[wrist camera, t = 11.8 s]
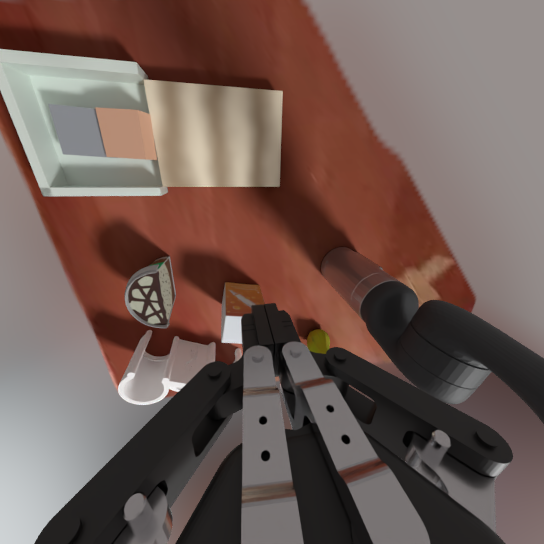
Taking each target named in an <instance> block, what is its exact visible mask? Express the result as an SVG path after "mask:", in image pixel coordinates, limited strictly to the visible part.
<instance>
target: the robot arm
mask: <svg viewBox="0 0 544 544" xmlns="http://www.w3.org/2000/svg"><path fill="white" fill-rule="evenodd" d="M321 272H322V275H323V276H324V278H325V279H326V280H327V281H328V282H329V283H330V284H331V286H332V287H333V288H334V289H335V290H336V291H337V292H338V293H339V294H340V295H341V297H342V298H343V299H344V300H345V301H346V302H347V303H348V304H349V305H350V306H351V308H352V309H353V310H354V311H355V312H356V313H357V314H358V315H359V316H360V317H361V319H362V320H363V321H364V322H365V323H366V326H367V329H368V331H369V332H370V334H371V335H372V336H373V337H374V339H375V340H376V341H377V342H378V344H379V345H380V346H381V348H382V349H383V350H384V351H385V353H386V354H387V355H388V357H389V358H390V359H391V361H392V362H393V363H394V364H395V365H396V367H397V368H398V369H399V370H400V371H401V372H402V373H403V375H404V376H405V377H406V378H407V379H409V381H411V382H412V383H413V384H414V385H415V386H417V388H416V387H414V386H412V385H411V384H409V383H407V382H405V381H403V380H401V379H399V378H398V377H396V376H394V375H392V374H390V373H388V372H386V371H384V370H382V369H381V368H379V367H377V366H375V365H373V364H371V363H369V362H368V361H366V360H364V359H362V358H360V357H358V356H356V355H355V354H353V353H351V352H349V351H347V350H345V349H343V348H339V347H334V348H330V349H329V350H327V352H326V354H322V353H315V352H312V351H309V349H308V348H307V347H306V346H305V345H304V344H302V343H301V341H300V339H299V337H298V334H297V332H296V330H295V327H294V325H293V322H292V320H291V318H290V315H289V314H288V313H287V312H285V311H284V310H282V311H278V309H277V306H276V304H275V303H271V304H264V305H263V304H259V305H252V306H251V313H248V314H244V315H243V316H242V318H241V333H242V347H243V355H242V357H241V358H240V359H239V360H238V361H236V362H235V363H233V364H230V365H227V364H226V363H224V362H220V361H215V362H211V363H209V364H207V365H205V366H204V367H203V368H202V369H201V370H200V371H199V372H198V373H197V374H196V375H195V376H194V377H193V378H192V379H191V380H190V381H189V382H188V383H187V384H186V385H185V386H184V387H183V388H182V389H181V390H180V391H179V392H178V393H177V394H176V395H175V396H174V397H173V398H172V399H171V400H170V401H169V402H168V403H167V404H166V405H165V406H164V407H163V408H162V409H161V410H160V411H159V412H158V413H157V414H156V415H155V416H154V417H153V418H152V419H151V420H150V421H149V422H148V423H147V424H146V425H145V426H144V427H143V428H142V429H141V430H140V431H139V432H138V433H137V434H136V435H135V436H134V437H133V438H132V439H131V440H130V441H129V442H128V443H127V444H126V445H125V446H124V447H123V448H122V449H121V450H120V451H119V452H118V453H117V454H116V455H115V456H114V457H113V458H112V459H111V460H110V461H109V462H108V463H107V464H106V465H105V466H104V467H103V468H102V469H101V470H100V471H99V472H98V473H97V474H96V475H95V476H94V477H93V478H92V479H91V480H90V481H89V482H88V483H87V484H86V485H85V486H84V487H83V488H82V489H81V490H80V491H79V492H78V493H77V494H76V495H75V496H74V497H73V498H72V499H71V500H70V501H69V502H68V503H67V504H66V505H65V506H64V507H63V508H62V509H61V510H60V511H59V512H58V513H57V514H56V515H55V516H54V517H53V518H52V519H51V520H50V521H49V523H48V524H47V525H46V526H45V528H44V529H43V530H42V532H41V533H40V535H39V536H38V538H37V540H36V542H35V544H167V542H168V540H169V537H170V535H171V531H172V526H173V517H172V512H171V510H170V508H171V506H172V505H173V503H174V502H175V500H176V499H177V497H178V496H179V494H180V493H181V491H182V490H183V488H184V487H185V485H186V484H187V483H188V481H189V479H190V478H191V477H192V475H193V474H194V472H195V471H196V469H197V468H198V466H199V465H200V463H201V462H202V460H203V459H204V457H205V456H206V454H207V453H208V452H209V450H210V448H211V447H212V446H213V444H214V443H215V441H216V440H217V438H218V437H219V435H220V434H221V432H222V431H223V430H224V428H225V427H226V425H227V424H228V422H229V421H230V419H231V417H232V415H233V413H235V412H237V411H239V410H241V409H243V443H241V444H240V445H238V446H237V447H236V448H234V449H233V450H232V451H231V452H230V453H229V454H228V455H227V457H226V458H225V459H224V461H223V462H222V463H221V465H220V467H219V468H218V470H217V472H216V473H215V475H214V477H213V479H212V480H211V482H210V484H209V486H208V487H207V489H206V491H205V493H204V494H203V496H202V498H201V500H200V502H199V503H198V505H197V507H196V509H195V510H194V512H193V514H192V516H191V517H190V519H189V521H188V523H187V525H186V526H185V528H184V530H183V531H182V533H181V535H180V537H179V538H178V540H177V542H176V544H505V543H504V542H503V540H502V539H501V538H499V536H498V535H497V534H496V515H495V481H494V480H495V479H496V478H497V477H498V475H499V474H500V473H501V472H502V471H503V470H504V469H505V468H506V467H507V465H508V464H509V463H510V462H511V461H512V459H513V454H512V450H511V448H510V447H509V445H508V443H507V442H506V441H505V440H504V439H503V438H502V437H501V436H500V435H499V434H498V433H497V432H496V431H495V430H493V429H491V428H490V427H489V426H487V425H485V424H483V423H482V422H479V421H478V420H476V419H474V418H472V417H470V416H468V415H467V414H465V413H463V412H461V411H459V410H457V409H455V408H454V407H451V406H450V405H448V404H459V403H461V402H464V401H465V400H466V399H468V398H469V397H470V396H471V395H472V393H473V392H474V391H475V390H476V389H477V388H478V387H479V385H480V384H481V383H482V382H483V381H484V380H485V379H486V377H487V376H488V375H489V374H490V373H491V372H493V373H494V374H495V375H496V376H498V377H499V378H500V379H501V380H502V381H503V382H505V383H506V384H507V385H508V386H509V387H510V388H511V389H512V390H513V391H514V392H515V393H516V394H517V395H518V396H519V397H520V398H521V399H522V400H523V401H524V402H525V403H526V404H527V405H528V406H529V407H530V408H531V409H532V410H533V412H534V413H535V414H536V415H537V416H538V417H539V419H540V420H541V421H542V422H543V424H544V358H542V357H541V356H539V355H538V354H536V353H534V352H533V351H531V350H530V349H528V348H527V347H525V346H523V345H522V344H521V343H519V342H517V341H516V340H514V339H513V338H511V337H509V336H508V335H507V334H505V333H503V332H502V331H500V330H499V329H497V328H495V327H494V326H492V325H491V324H489V323H487V322H486V321H484V320H483V319H481V318H479V317H477V316H476V315H474V314H472V313H470V312H468V311H466V310H464V309H462V308H460V307H458V306H455V305H453V304H450V303H447V302H444V301H439V300H430V301H427V302H425V303H423V304H422V305H421V307H420V308H419V309H418V305H419V304H418V298H417V296H416V294H415V293H414V291H413V290H412V289H410V288H409V287H408V286H406V285H404V284H403V283H401V282H400V281H398V280H397V279H395V278H394V277H392V276H390V275H389V274H387V273H386V272H384V271H383V270H382V268H381V267H380V266H379V265H377V264H375V263H374V262H372V261H371V260H369V259H368V258H366V257H364V256H363V255H361V254H360V253H358V252H354V251H353V250H351V249H349V248H347V247H338V248H335V249H333V250H331V251H330V252H329V253H328V254H327V255H326V256H325V257H324V259H323V261H322V264H321ZM277 376H279V379H280V391H281V394H282V397H283V401H284V404H285V406H286V410H287V413H288V416H289V419H290V422H291V425H292V430H290V429H285V428H284V422H283V416H282V409H281V403H280V396H279V390H278V388H276V381H275V377H277ZM349 385H351V386H353V387H354V388H356V389H358V390H359V391H361V392H362V393H364V394H365V395H367V396H369V397H370V398H372V399H373V400H374V402H373V401H371V400H370V399H368V398H367V397H365V396H363V395H362V394H360V393H359V392H357V391H355V390H354V389H352V388H351V387H349ZM418 388H419V389H418ZM446 403H448V404H446ZM399 457H400V458H399ZM403 460H404V461H403Z"/></svg>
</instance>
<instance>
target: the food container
mask: <svg viewBox="0 0 544 544" xmlns="http://www.w3.org/2000/svg"><path fill="white" fill-rule="evenodd" d="M175 297H176V292H175V286H174V279H173V273H172V267H171V261H170V256H164V257H161V258H158V259H156V260H155V261H154V262H153V263H151V264H150V265H149V266H148V267H145V268H142V269H140V270H139V271H137V272H136V273H135V274H134V275H133V276H132V277H131V278H130V279H129V281H128V283H127V287H126V290H125V303H126V306H127V309H128V310H129V312H130V313H131V315H132V316H133V317H134V318H135V319H137V320H138V321H140V322H141V323H143V324H145V325H148V326H151V327H155V328H167V327H168V326H169V324H170V323H169V319H170V315H171V312H172V308H173V305H174V301H175Z"/></svg>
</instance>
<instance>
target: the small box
mask: <svg viewBox="0 0 544 544" xmlns="http://www.w3.org/2000/svg"><path fill="white" fill-rule="evenodd" d="M259 304H263V305H264V304H265V303H264V300H263V296H262V293H261V290H260V286H259V285H251V284H239V283H230V282H225V286H224V293H223V300H222V327H221V342H222V343H240V344H242V333H241V318H242V316H243V315H244V314H248V313H251V306H252V305H259Z"/></svg>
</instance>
